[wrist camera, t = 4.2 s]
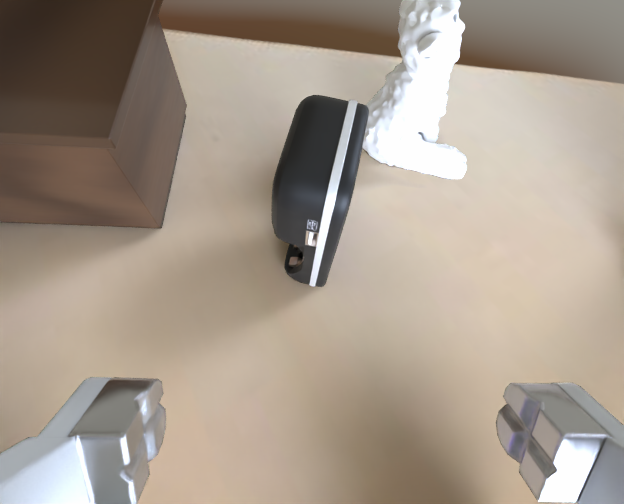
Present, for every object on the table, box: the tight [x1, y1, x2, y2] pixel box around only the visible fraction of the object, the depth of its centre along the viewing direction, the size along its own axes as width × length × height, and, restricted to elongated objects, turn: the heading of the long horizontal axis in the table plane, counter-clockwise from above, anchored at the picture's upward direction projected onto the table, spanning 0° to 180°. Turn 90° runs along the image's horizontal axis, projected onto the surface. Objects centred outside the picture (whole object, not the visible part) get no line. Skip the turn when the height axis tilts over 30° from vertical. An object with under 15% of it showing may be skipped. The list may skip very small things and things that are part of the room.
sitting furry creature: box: [362, 0, 467, 179], centre depth 25 cm, size 10×9×12 cm
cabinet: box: [0, 0, 187, 228], centre depth 23 cm, size 13×13×10 cm
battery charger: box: [272, 95, 369, 287], centre depth 21 cm, size 7×4×11 cm, turn 167°
